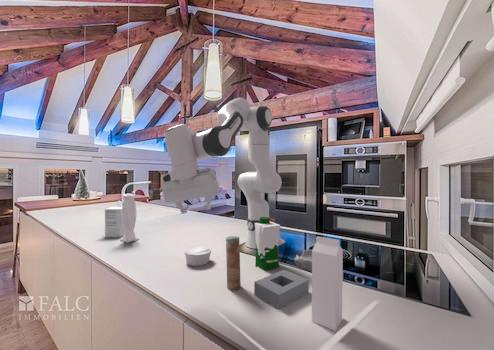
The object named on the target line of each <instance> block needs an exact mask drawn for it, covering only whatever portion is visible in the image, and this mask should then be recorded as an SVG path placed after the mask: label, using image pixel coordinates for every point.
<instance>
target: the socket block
mask: <svg viewBox="0 0 494 350" xmlns="http://www.w3.org/2000/svg"><path fill="white" fill-rule="evenodd" d="M309 280H310V279H309V278H306V277H304V276H301V275H298V274H296V273H294V272H291V271H289V270H286V269H282V270H280V271H278V272H274V273H273V274H271V275H268V276H265V277H263V278H261V279H257V280H256V281H254V284H253V287H254V291H253V292H254V293H253V295H254V296H256V297H257V298H258V299H260V300H262V301H263V302H265V303H267V304H269V305H271V306H272V307H274V308H276V309H277V310H280V309H283V308H284V307H286V306H287V305H289V304H292V303H293V302H294V301H296V300H298V299H300V298H302V297H303V296H305V295H307V294H308V293H309V291H310V290H309V289H310V286H309V285H310V281H309Z"/></svg>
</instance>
